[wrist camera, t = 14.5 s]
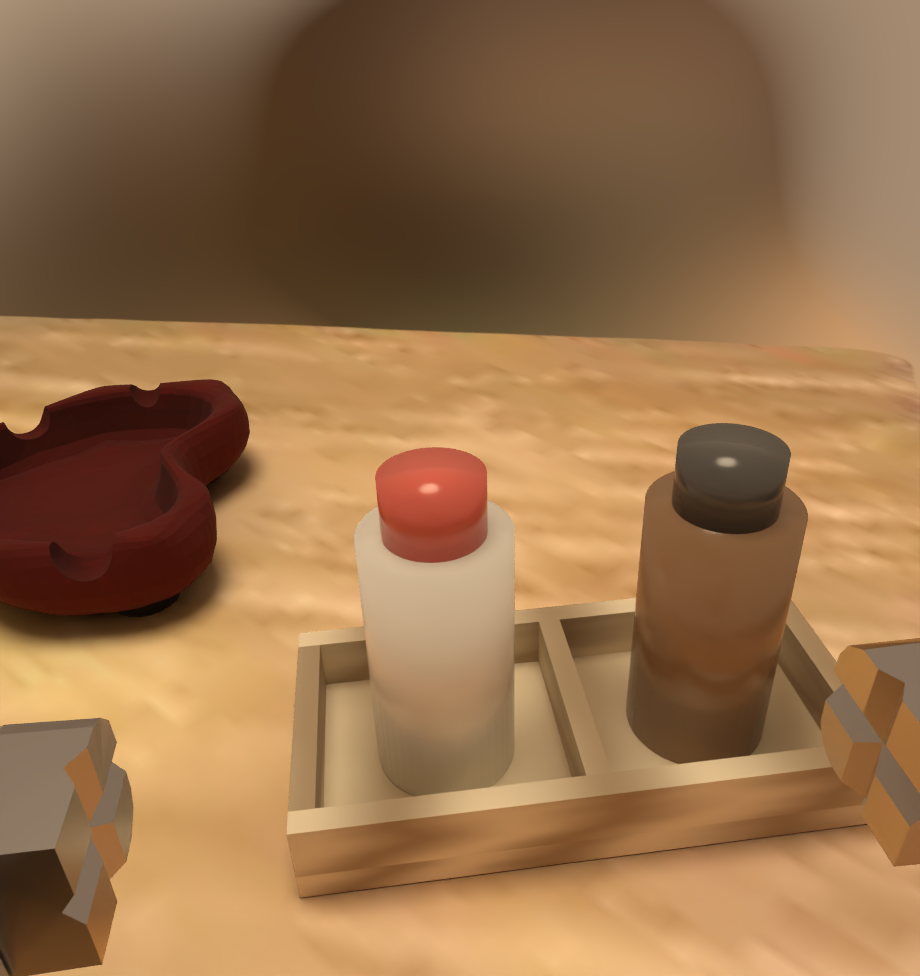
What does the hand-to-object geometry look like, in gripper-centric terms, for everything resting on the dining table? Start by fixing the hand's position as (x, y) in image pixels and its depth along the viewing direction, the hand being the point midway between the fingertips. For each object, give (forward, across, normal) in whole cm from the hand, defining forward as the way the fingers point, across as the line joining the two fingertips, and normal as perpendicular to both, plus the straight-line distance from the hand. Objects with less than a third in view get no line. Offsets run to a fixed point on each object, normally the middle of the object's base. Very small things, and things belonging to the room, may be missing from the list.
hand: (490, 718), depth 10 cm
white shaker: (+14, -1, +16) cm, 22 cm away
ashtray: (+32, +16, +19) cm, 41 cm away
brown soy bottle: (+14, -10, +16) cm, 24 cm away
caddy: (+14, -5, +17) cm, 23 cm away
